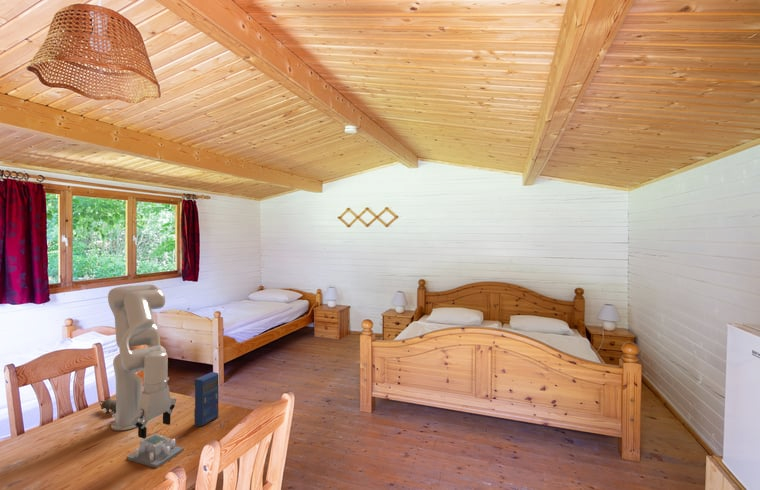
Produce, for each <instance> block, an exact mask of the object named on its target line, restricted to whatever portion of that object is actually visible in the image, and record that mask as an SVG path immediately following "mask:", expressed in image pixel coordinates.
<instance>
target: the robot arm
mask: <svg viewBox="0 0 760 490" xmlns="http://www.w3.org/2000/svg"><path fill="white" fill-rule="evenodd" d="M107 301H108V306H109V308H110V310H111V312H112V314H113V316H114V325H115V326H114V327H115V329H114V330H115V339H116V346H117V347H118V349H119V353H118V354H117V355H115V357H114V358H113V363H112V366H113V372H114V378H115V400H116V414H113V413H112V414H113V415H112V414H111V415H112V417H113V418H114V421H113V422H111V429H112V430H113V431H127V430H132V429H135V428H138V429H137V430H138V431H137V436H138V438H141V439H142V440H143V439H145V438H147V426H146V425H147V424H148V423H149V421H151V420H153V419H155V418H157V417H159V416H161V415H162V424H164V425H168V426H170V425H171V414H172V413H173V410H174V408H175V406H176V405H175V404H176V402H177V398H172V397H171V392H170V391H171V390H170V387H169V385H168V381H170V377H169V376H168V371H169V370H168V366H169V365H168V364H169V362H168V361H169V360H168V358H169V357H168V356H169V355H168V353H167V350H166V348H165V347H164V346H163V345H161V337H160V335H161V334H160V330H159V329H160V328H159V327H158V325H157V324H156V323H155V319H154V315H153V311H152V310H158V309H162V308H164V307H165V304H166V296H165V294H164V292H163V291H162V290H161V288H159V287H157V285H155V284H140V285H139V284H137V285H135V284H134V285H123V286H117V287H114V288H111V289H110V290H109V291H108V295H107ZM145 345H146V347H142V348H135V349H130V348H134V347H139V346H145ZM139 372H143V379H142V377H140V376H139V375H138V374H136V373H139Z"/></svg>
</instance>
